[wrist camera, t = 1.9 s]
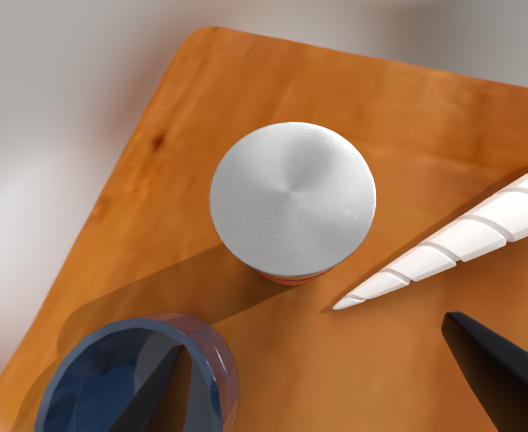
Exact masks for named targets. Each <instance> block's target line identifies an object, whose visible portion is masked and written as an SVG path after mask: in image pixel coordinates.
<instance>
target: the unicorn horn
mask: <svg viewBox="0 0 528 432" xmlns="http://www.w3.org/2000/svg"><path fill="white" fill-rule="evenodd" d="M527 236H528V173H527V174H525V175H524V176H522V177H520V178H519V179H517V180H516V181H514V182H512V183H511V184H509V185H507V186H506V187H504V188H503V189H501V190H499V191H498V192H496V193H494V194H493V195H492V196H491V197H489V198H487V199H485V200H484V201H483V202H481V203H480V204H478V205H477V206H475V207H474V208H472V209H471V210H469V211H468V212H466V213H465V214H463V215H462V216H460V217H458V218H457V219H455V221H453V222H451V223H449V224H448V225H446V226H444V227H443V228H441V229H440V230H438V231H437V232H435V233H434V234H432V235H431V236H429V237H428V238H426V239H425V240H423V241H422V242H420V243H419V244H418V245H417V246H416V247H414V248H412V249H410V250H409V251H407V252H406V253H404V254H403V255H401V256H400V257H398V258H397V259H395V260H394V261H393V262H391V263H390V264H388V265H387V266H385V267H384V268H382V269H381V270H380V271H379V272H378V273H376V274H374V275H373V276H371V277H370V278H368V279H367V280H366V281H364V282H363V283H362V284H360V285H359V286H358V287H356V288H355V289H354V290H352V291H351V292H349V293H348V294H347V295H345V296H344V297H343V298H342V300H340V301H339V302H338V303H337V304H335V305H334V307H333V309H332V310H339V309H343V308H347V307H350V306H353V305H356V304H359V303H362V302H364V301H365V300H366V299H373V298H375V297H378V296H381V295H383V294H386V293H389V292H391V291H394V290H396V289H399V288H402V287H404V286H407V285H409V284H410V280H413V281H416V282H417V281H419V280H422V279H424V278H427V277H429V276H432V275H434V274H437V273H439V272H442V271H444V270H447V269H449V268H452V267H454V266H456V263H455V262H456V261H459V260H462V261H463V262H466V261H469V260H471V259H474V258H476V257H479V256H481V255H484V254H486V253H488V252H491V251H493V250H496V249H498V248H500V247H503V246H505V245H506V241H507V242H515V241H517V240H520V239H522V238H524V237H527Z"/></svg>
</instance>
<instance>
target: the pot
mask: <svg viewBox="0 0 528 432" xmlns="http://www.w3.org/2000/svg"><path fill="white" fill-rule="evenodd" d="M182 344H184V345H185V346H186V348H187V350H188V352H189V354H190V356H191V358H192V370H191V380H190V389H189V398H188V407H187V414H186V420H185V425H184V430H183V432H231V431H232V429H233V427H234V424H235V420H236V415H237V411H238V403H239V380H238V373H237V369H236V365H235V362H234V359H233V356H232V354H231V352H230V349H229V347H228V346H227V344H226V342H225V341H224V339H223V338H222V337H221V336H220V334H219V333H218V332H217V331H216V330H215V329H214V328H213V327H212V326H211V325H209V324H208V323H206V322H205V321H203V320H202V319H199V318H197V317H195V316H192V315H189V314H185V313H179V312H165V313H159V314H153V315H147V316H141V317H136V318H131V319H126V320H121V321H116V322H112V323H109V324H107V325H106V326H104V327H102V328H100V329H99V330H97V331H95V332H93V333H92V334H90V335H88V336H86V337H85V338H84V339H83V340H82V341H81V342H80V343H79V344H78V345H77V346H76V347H75V348H74V349H73V350H72V351H71V352H70V353H69V354H68V355H67V356H66V357H65V358H64V359H63V361H62V362H61V364H60V365H59V367H58V369H57V371H56V372H55V374H54V376H53V377H52V379H51V381H50V382H49V384H48V386H47V387H46V390H45V392H44V395H43V398H42V402H41V405H40V408H39V411H38V414H37V418H36V421H35V426H34V432H107V431H108V429H109V428H110V427H111V425H112V424H113V423H114V422H115V420H116V419H117V418H118V416H119V415H120V414H121V412H122V411H123V410H124V409H125V407H126V406H127V405H128V403H129V402H130V401H131V399H132V398H133V397H134V395H135V394H136V393H137V392H138V390H139V389H140V388H141V386H142V385H143V384H144V382H145V381H146V380H147V379H148V377H149V376H150V375H151V373H152V372H153V371H154V369H155V368H156V367H157V366H158V364H159V363H160V362H161V360H162V359H163V358H164V356H165V355H166V354H167V353H168V351H169V350H170V349H171V347H173V346H175V345H182Z"/></svg>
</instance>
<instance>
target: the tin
mask: <svg viewBox="0 0 528 432" xmlns="http://www.w3.org/2000/svg"><path fill="white" fill-rule="evenodd" d="M209 203H210V213H211V217H212V221H213V224H214V227H215V230H216V232H217V233H218V235H219V237H220V239H221V240H222V242H223V243H224V245H225V246H226V247H227V249H228V250H229V251H230V252H231V253H232V254H233V255H234V256H235V257H237V258H238V259H239V260H241V261H242V262H243V263H245V264H246V265H247V266H248V267H250V268H251V269H252V270H254V271H256V272H257V273H259V274H261V275H262V276H264V277H266V278H268V279H270V280H271V281H273V282H276V283H278V284H282V285H288V286H294V285H300V284H304V283H307V282H309V281H311V280H313V279H315V278H317V277H319V276H321V275H323V274H325V273H326V272H328V271H330V270H331V269H333V268H334V267H335V266H336V265H338V264H340V263H341V262H343V261H344V260H345V259H347V258H348V257H349V256H350V255H351V254H353V252H354V251H355V250H356V249H357V248H358V247H359V246H360V244H361V243H362V242H363V240H364V239H365V237H366V235H367V233H368V231H369V229H370V227H371V225H372V221H373V218H374V214H375V208H376V191H375V184H374V181H373V177H372V174H371V172H370V169H369V167H368V165H367V163H366V162H365V160H364V158H363V157H362V155H361V154H360V153H359V152H358V150H357V149H356V148H355V147H354V146H353V145H352V144H351V143H350V142H348V141H347V140H346V139H344V138H343V137H342V136H340V135H339V134H337V133H335V132H333V131H331V130H329V129H326V128H324V127H321V126H318V125H314V124H309V123H303V122H284V123H278V124H272V125H269V126H265V127H263V128H260V129H258V130H255V131H253V132H252V133H250V134H248V135H246V136H245V137H243V138H242V139H241V140H239V141H238V142H237V143H236V144H235V145H234V146H232V147H231V148H230V150H229V151H228V152H227V153H226V154H225V156H224V157H223V159H222V160H221V162H220V163H219V165H218V167H217V169H216V171H215V174H214V177H213V180H212V183H211V188H210V198H209Z"/></svg>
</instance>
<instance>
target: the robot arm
mask: <svg viewBox="0 0 528 432" xmlns="http://www.w3.org/2000/svg"><path fill="white" fill-rule="evenodd" d="M441 331H442V334H443V336H444V338H445V340H446V342H447V344H448V346H449V348H450V350H451V352H452V354H453V356H454V358H455V360H456V362H457V363H458V365H459V367H460V369H461V371H462V373H463V375H464V377H465V379H466V380H467V382H468V384H469V386H470V387H471V389H472V391H473V392H474V394H475V395H476V397H477V398H478V400H479V402H480V403H481V405H482V406H483V408H484V409H485V411H486V413H487V414H488V416H489V417H490V419H491V420H492V422H493V424H494V425H495V427H496V428H497V430H498V431H499V432H528V352H527V351H525V350H523V349H522V348H520V347H519V346H517V345H515V344H514V343H512V342H510V341H509V340H507V339H505V338H504V337H502V336H500V335H499V334H497V333H495V332H494V331H492V330H491V329H489V328H487V327H486V326H484V325H482V324H481V323H479V322H477V321H476V320H474V319H472V318H471V317H469V316H467V315H466V314H464V313H462V312H460V311H453V312H447V313H446V314H445V316H444V319H443V323H442V327H441ZM191 370H192V358H191V356H190V354H189V352H188V350H187V348H186V346H185V345H184V344H182V345H175V346H173V347H171V349H170V350H169V351H168V353H167V354H166V355H165V356H164V358H163V359H162V360H161V362H160V363H159V364H158V366H157V367H156V368H155V369H154V371H153V372H152V373H151V375H150V376H149V377H148V379H147V380H146V381H145V382H144V384H143V385H142V386H141V388H140V389H139V390H138V392H137V393H136V394H135V395H134V397H133V398H132V399H131V401H130V402H129V403H128V405H127V406H126V407H125V409H124V410H123V411H122V412H121V414H120V415H119V416H118V418H117V419H116V420H115V422H114V423H113V424H112V425H111V427H110V428H109V429H108V431H107V432H183V430H184V425H185V420H186V414H187V407H188V398H189V389H190V380H191Z"/></svg>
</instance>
